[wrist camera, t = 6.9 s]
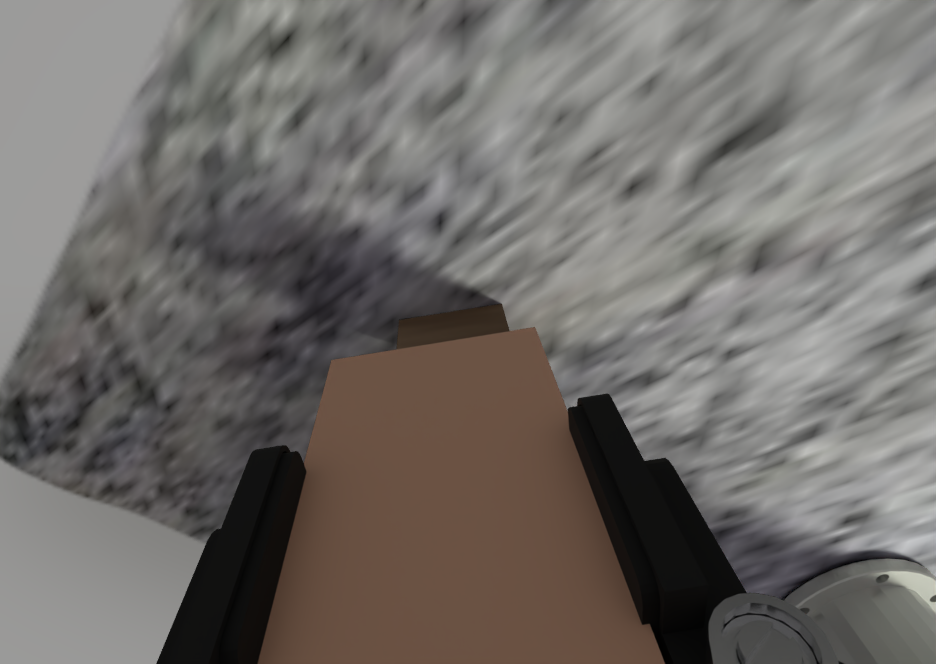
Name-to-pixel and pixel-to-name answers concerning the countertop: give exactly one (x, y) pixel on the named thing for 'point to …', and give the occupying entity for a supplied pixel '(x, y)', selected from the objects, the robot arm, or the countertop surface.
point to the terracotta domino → (450, 520)
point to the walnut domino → (451, 326)
